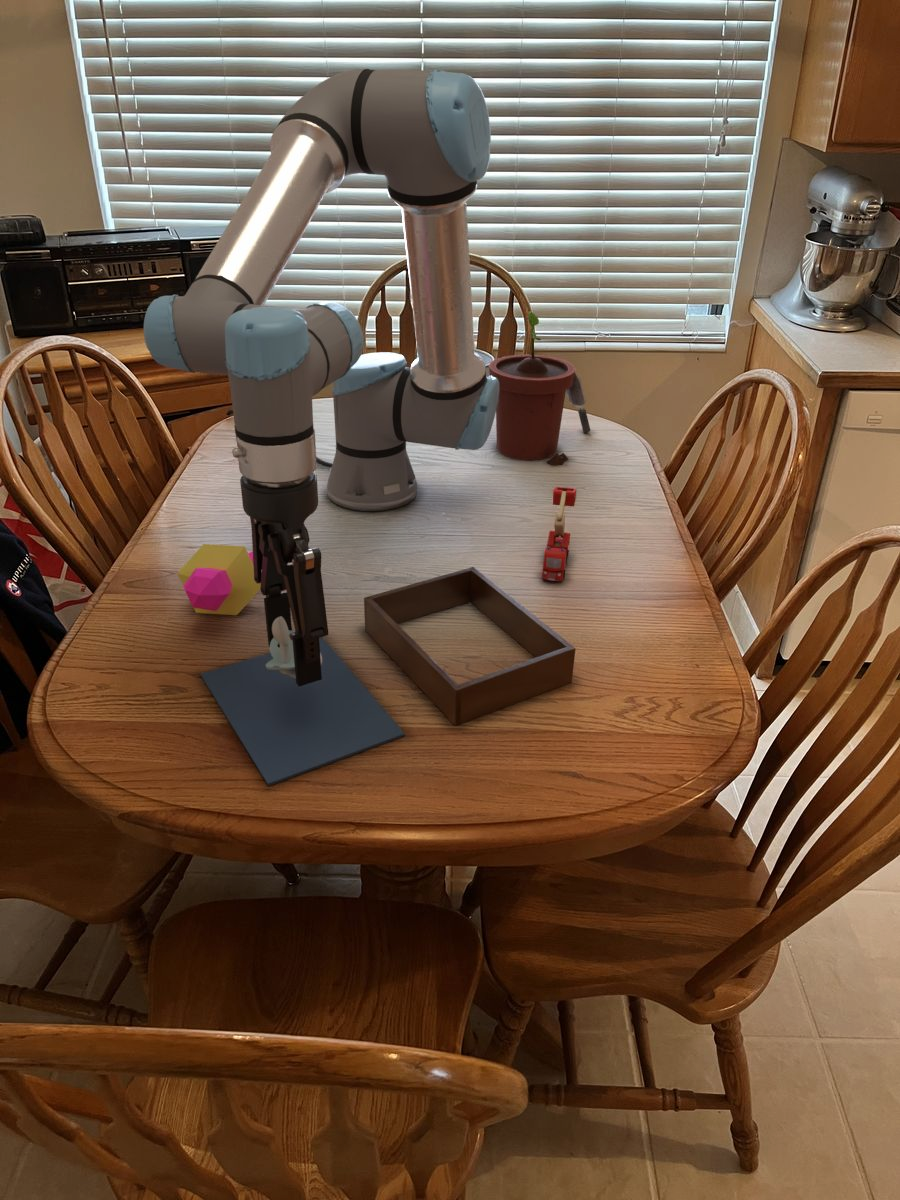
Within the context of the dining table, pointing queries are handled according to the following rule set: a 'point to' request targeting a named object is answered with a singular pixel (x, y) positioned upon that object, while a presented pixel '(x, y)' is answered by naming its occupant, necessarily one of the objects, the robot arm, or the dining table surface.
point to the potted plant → (534, 403)
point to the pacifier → (282, 649)
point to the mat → (299, 715)
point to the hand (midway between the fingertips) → (294, 662)
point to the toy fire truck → (558, 547)
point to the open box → (507, 613)
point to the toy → (219, 579)
